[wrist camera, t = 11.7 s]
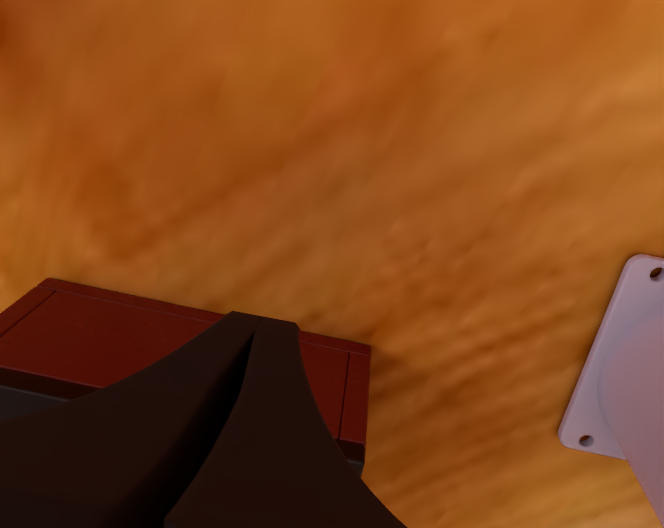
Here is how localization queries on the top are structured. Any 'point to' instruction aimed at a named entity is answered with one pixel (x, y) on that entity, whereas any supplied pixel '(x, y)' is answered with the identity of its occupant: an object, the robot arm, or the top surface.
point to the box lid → (41, 393)
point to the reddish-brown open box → (158, 346)
